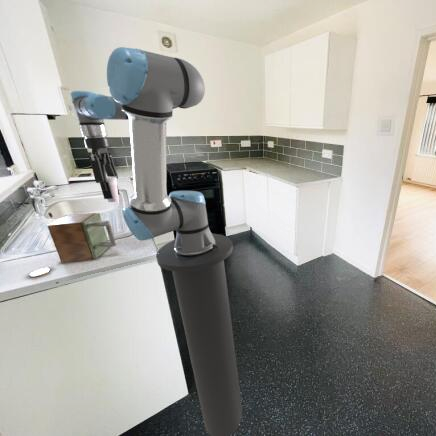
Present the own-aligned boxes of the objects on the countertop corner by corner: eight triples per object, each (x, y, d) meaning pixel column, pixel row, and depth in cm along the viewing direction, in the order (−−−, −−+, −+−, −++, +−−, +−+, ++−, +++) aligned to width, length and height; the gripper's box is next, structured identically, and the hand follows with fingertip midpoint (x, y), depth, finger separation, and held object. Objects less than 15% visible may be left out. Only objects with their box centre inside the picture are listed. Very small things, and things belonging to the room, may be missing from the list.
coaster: (53, 268, 86) (53, 267, 86) (44, 276, 82) (43, 274, 81) (36, 270, 85) (36, 269, 85) (26, 278, 80) (25, 277, 80)
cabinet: (106, 246, 102) (95, 212, 96) (92, 259, 92) (80, 222, 86) (78, 249, 99) (66, 215, 94) (61, 263, 89) (46, 225, 84)
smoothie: (101, 203, 97) (91, 168, 92) (106, 200, 103) (96, 166, 98) (120, 201, 99) (111, 167, 94) (124, 198, 105) (115, 165, 100)
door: (127, 244, 103) (118, 211, 98) (117, 256, 93) (106, 220, 88) (106, 246, 102) (96, 213, 97) (93, 259, 92) (81, 222, 87)
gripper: (96, 137, 100) (112, 192, 108) (69, 138, 83) (89, 203, 91) (117, 136, 102) (131, 190, 110) (94, 137, 84) (112, 201, 92)
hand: (112, 196), depth 100 cm, fingers closed on smoothie, 6 cm apart
